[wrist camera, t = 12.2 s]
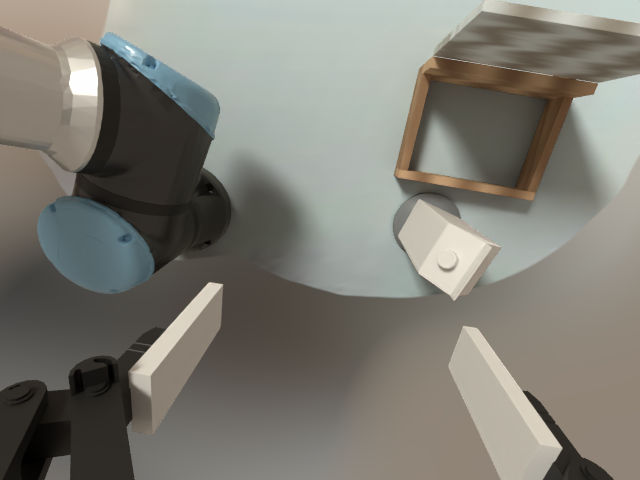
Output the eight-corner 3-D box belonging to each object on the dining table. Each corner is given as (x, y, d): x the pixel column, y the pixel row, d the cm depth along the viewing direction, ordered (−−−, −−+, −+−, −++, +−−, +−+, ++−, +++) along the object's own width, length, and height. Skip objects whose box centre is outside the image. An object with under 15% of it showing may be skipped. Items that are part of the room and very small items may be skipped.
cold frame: (394, 174, 49) (428, 200, 29) (422, 53, 43) (489, -17, 24) (519, 196, 49) (640, 236, 29) (565, 77, 43) (754, 25, 23)
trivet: (386, 249, 53) (386, 250, 53) (401, 187, 50) (402, 188, 49) (448, 260, 53) (449, 261, 53) (468, 199, 49) (469, 199, 49)
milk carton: (456, 216, 50) (520, 260, 32) (433, 252, 52) (481, 313, 34) (418, 198, 49) (461, 232, 31) (397, 235, 52) (425, 287, 34)
